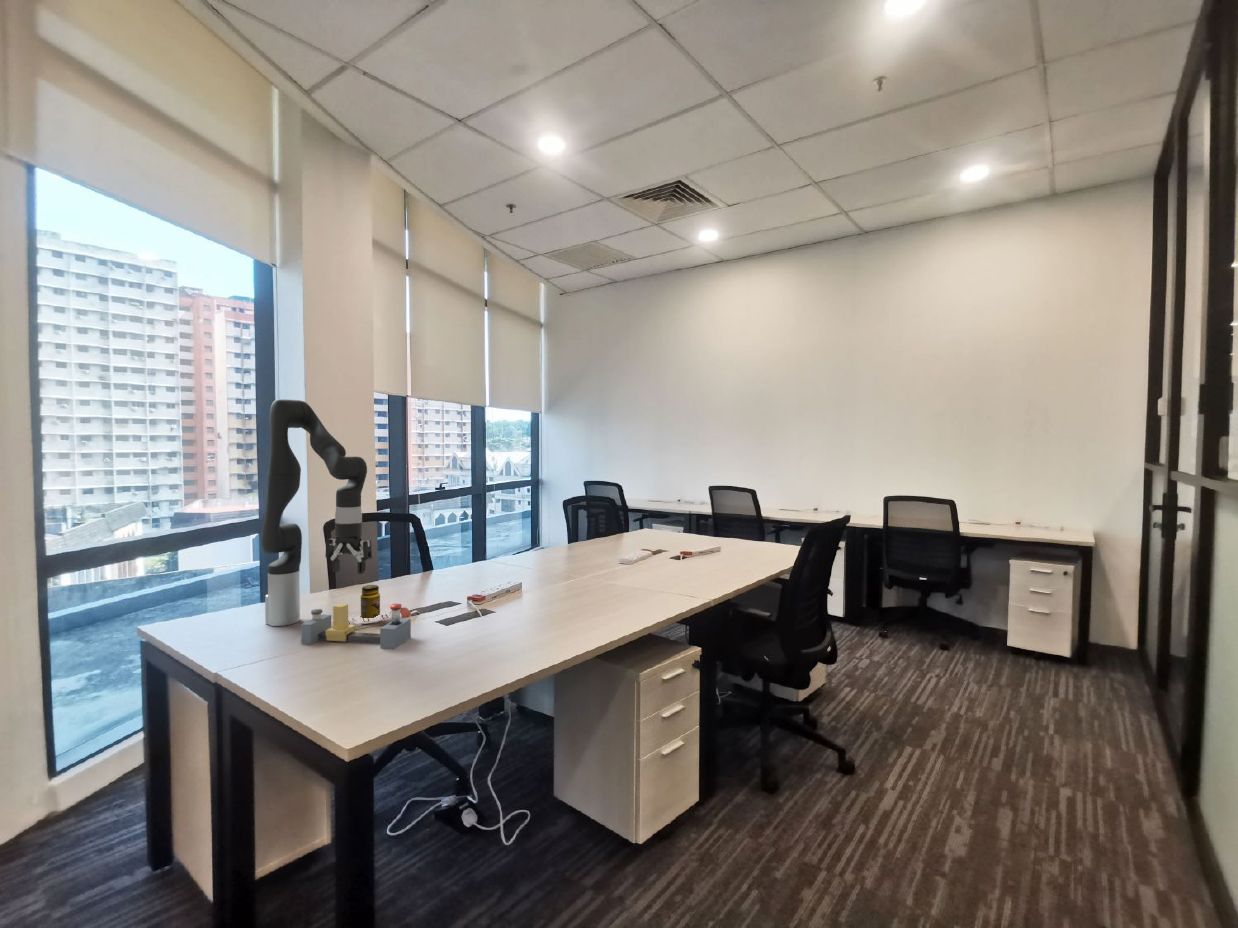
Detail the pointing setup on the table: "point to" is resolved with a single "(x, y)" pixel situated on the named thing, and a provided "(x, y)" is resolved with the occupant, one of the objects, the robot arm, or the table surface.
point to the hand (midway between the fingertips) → (348, 572)
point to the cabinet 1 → (314, 626)
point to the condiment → (370, 601)
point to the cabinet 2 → (395, 634)
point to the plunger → (395, 613)
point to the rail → (355, 637)
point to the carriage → (340, 624)
